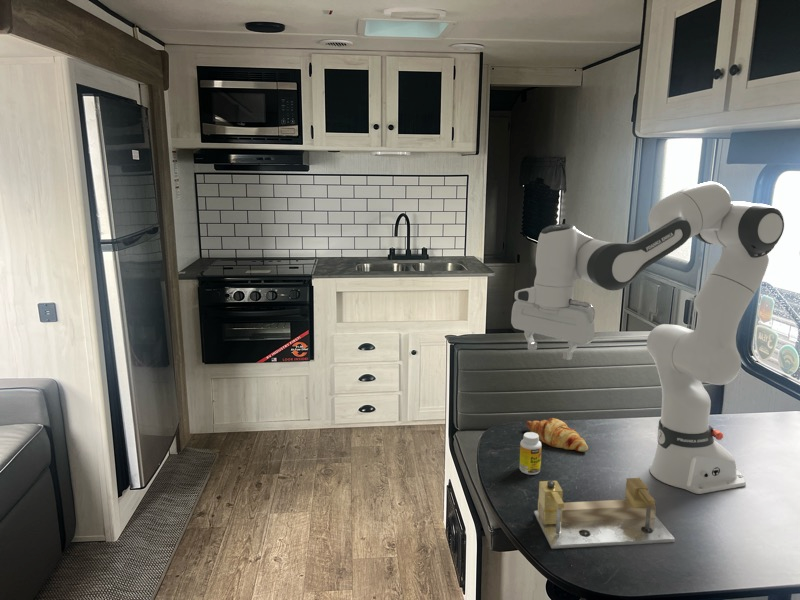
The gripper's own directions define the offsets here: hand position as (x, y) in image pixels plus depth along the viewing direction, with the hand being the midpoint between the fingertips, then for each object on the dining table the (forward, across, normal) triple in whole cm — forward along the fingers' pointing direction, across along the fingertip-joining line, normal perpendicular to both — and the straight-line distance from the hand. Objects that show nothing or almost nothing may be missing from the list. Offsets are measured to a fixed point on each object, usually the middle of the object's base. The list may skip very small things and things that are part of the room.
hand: (549, 354), depth 137 cm
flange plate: (+37, -17, 0) cm, 40 cm away
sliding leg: (+36, -9, +8) cm, 38 cm away
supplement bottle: (+37, +10, -10) cm, 39 cm away
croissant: (+37, +14, -29) cm, 49 cm away
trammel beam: (+36, -16, 0) cm, 39 cm away
